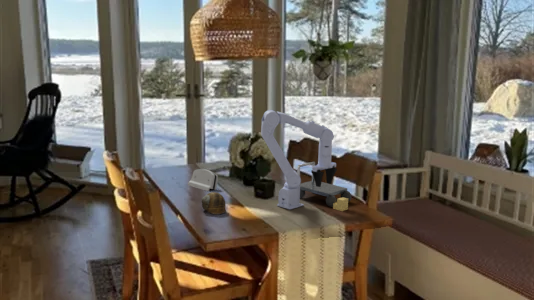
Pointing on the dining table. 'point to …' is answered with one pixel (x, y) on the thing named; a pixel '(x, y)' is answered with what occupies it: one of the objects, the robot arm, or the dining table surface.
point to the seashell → (214, 203)
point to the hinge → (203, 179)
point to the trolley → (322, 188)
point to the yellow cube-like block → (341, 204)
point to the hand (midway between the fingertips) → (323, 184)
